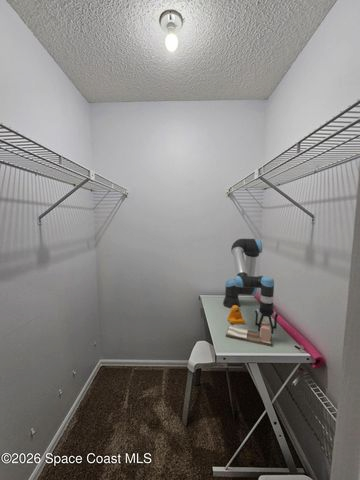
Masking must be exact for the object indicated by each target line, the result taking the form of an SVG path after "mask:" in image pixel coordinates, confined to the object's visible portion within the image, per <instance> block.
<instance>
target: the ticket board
mask: <svg viewBox="0 0 360 480" xmlns="http://www.w3.org/2000/svg"><path fill="white" fill-rule="evenodd" d="M225 337H226V338H229V339H232V340H233V339H234V340H238V341H239V340H240V341H243V342H248V343H252V344H257V345H263V346H266V347H273V346H274V345H273V334H271V340H270V342H267V341H262V340H261V338H260V332H258V331H254V330H250V329H247V328H246V329H245V328H241V327H234V326H228V327H227V329H226V333H225Z"/></svg>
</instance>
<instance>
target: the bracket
mask: <svg viewBox="0 0 360 480" xmlns="http://www.w3.org/2000/svg"><path fill="white" fill-rule="evenodd" d="M229 311H230V312H229V313H228V316H227V320H228V322H229V323H230V324H233V325H234V326H235V325H237V326H238V325H242V324H245V323H246V321H245V319H244V318H243V316H242V312H241V311H242V310H241V307H238V306H237V305H233V306H232V308H230V310H229Z"/></svg>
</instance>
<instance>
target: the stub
mask: <svg viewBox="0 0 360 480" xmlns="http://www.w3.org/2000/svg"><path fill="white" fill-rule="evenodd" d="M270 327H271V325H270V322H266V321H262V323H261V340H262V341H267V342H270Z"/></svg>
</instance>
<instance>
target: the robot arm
mask: <svg viewBox="0 0 360 480" xmlns="http://www.w3.org/2000/svg"><path fill="white" fill-rule="evenodd" d="M262 252H263V245H262V241H261V240H260V239H259V238H239V239H236V240H235V241H233V243H232V245H231V254H232V255H233V261H234V268H235V273H236V275H235V276H234V278H233V279H232V278H231V279H227V280H226V281H225V286H224V287H225V289H224V291H225V293H224V294H225V296H224V297H223V298H224V299H223V301H222V302H223V303H222V305H223V306H224V307H226V308H229V309H231V308H232V306H233V305H237V306H238V307H239V308H241V302H240V299H239V295H241V296H242V295H245V296H246V295H247V296H254V295H255V294H256V293H257V289H260V297H259V298H260V299H259V300H260V302H259V308H258V309H257V308H256V309H254V313H255V320H254V321H255V323H254V325H255V326H256V327H258V328H257V332H260V338H261V323H262V322H263V320H264V317H267V318H268V321H269V323H270V340H271V335H273V334H274V330H276V329H277V328H278V327H277V325H278V323H277V322H278V319H277V318H278V315H279V314H278V312H277V311H274V291H275V289H274V288H275V279H274V278H273V277H271V276H264V275H257V276H255V272H256V267H257V258H258V257H259V256H260V254H262ZM244 256H245V257H244ZM259 313H260V314H261V315H260V318H259ZM272 315H273V316H274V318H273V319H274V320H273V321H274V322H273V321H272ZM258 321H259V322H258Z"/></svg>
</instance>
